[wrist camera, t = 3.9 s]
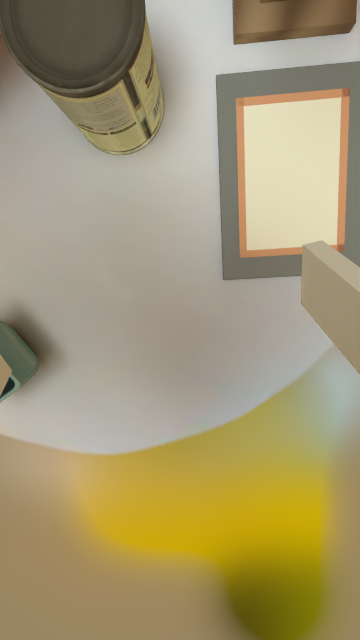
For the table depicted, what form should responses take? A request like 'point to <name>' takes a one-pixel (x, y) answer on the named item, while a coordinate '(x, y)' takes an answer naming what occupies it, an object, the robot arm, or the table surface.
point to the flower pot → (16, 359)
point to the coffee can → (91, 65)
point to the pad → (288, 166)
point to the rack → (290, 19)
